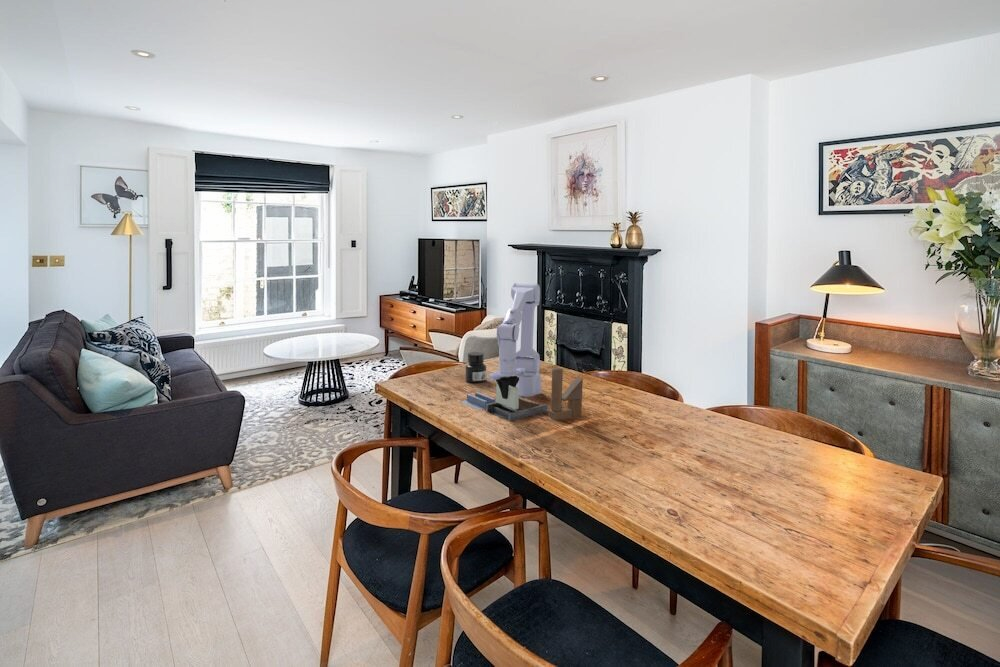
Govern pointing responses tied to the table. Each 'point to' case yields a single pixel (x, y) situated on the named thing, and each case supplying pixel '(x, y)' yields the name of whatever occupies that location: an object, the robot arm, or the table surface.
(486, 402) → the sheet stand
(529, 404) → the offcut stack
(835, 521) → the table surface
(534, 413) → the slotted rack
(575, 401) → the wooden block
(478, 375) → the ink bottle
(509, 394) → the pale green slab
